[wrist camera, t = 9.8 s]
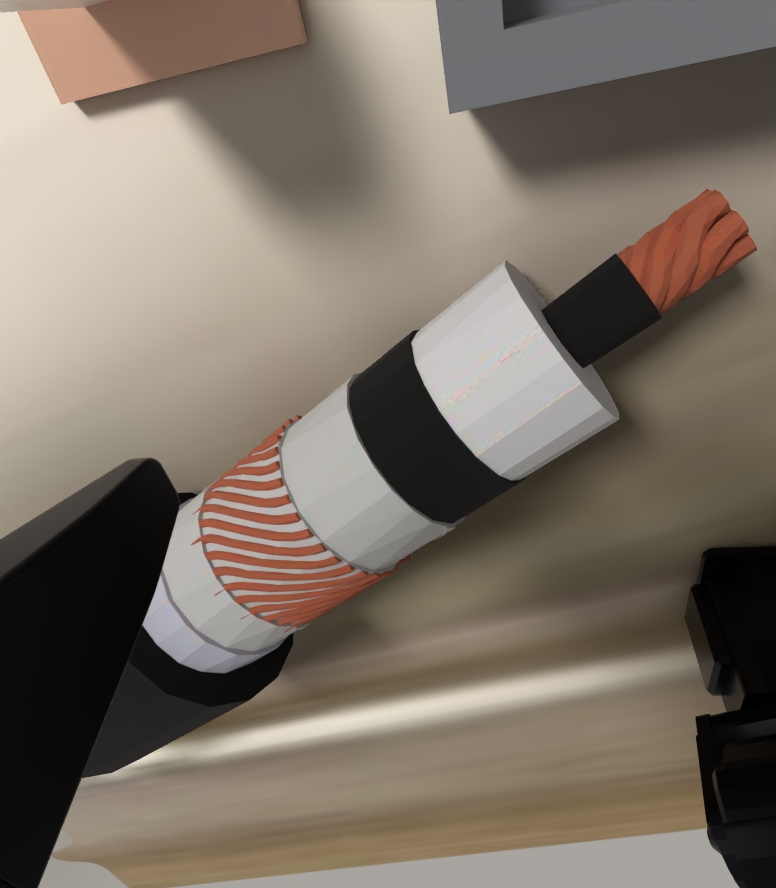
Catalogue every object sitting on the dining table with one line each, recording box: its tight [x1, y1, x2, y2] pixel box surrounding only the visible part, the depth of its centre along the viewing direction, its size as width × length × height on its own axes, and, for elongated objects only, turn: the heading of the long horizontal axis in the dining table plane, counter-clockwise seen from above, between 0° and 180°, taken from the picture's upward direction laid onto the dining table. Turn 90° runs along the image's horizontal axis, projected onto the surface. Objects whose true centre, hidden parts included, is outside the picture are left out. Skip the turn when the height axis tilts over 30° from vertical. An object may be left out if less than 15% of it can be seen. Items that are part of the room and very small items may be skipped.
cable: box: [82, 189, 757, 778], centre depth 23 cm, size 10×34×10 cm, turn 133°
